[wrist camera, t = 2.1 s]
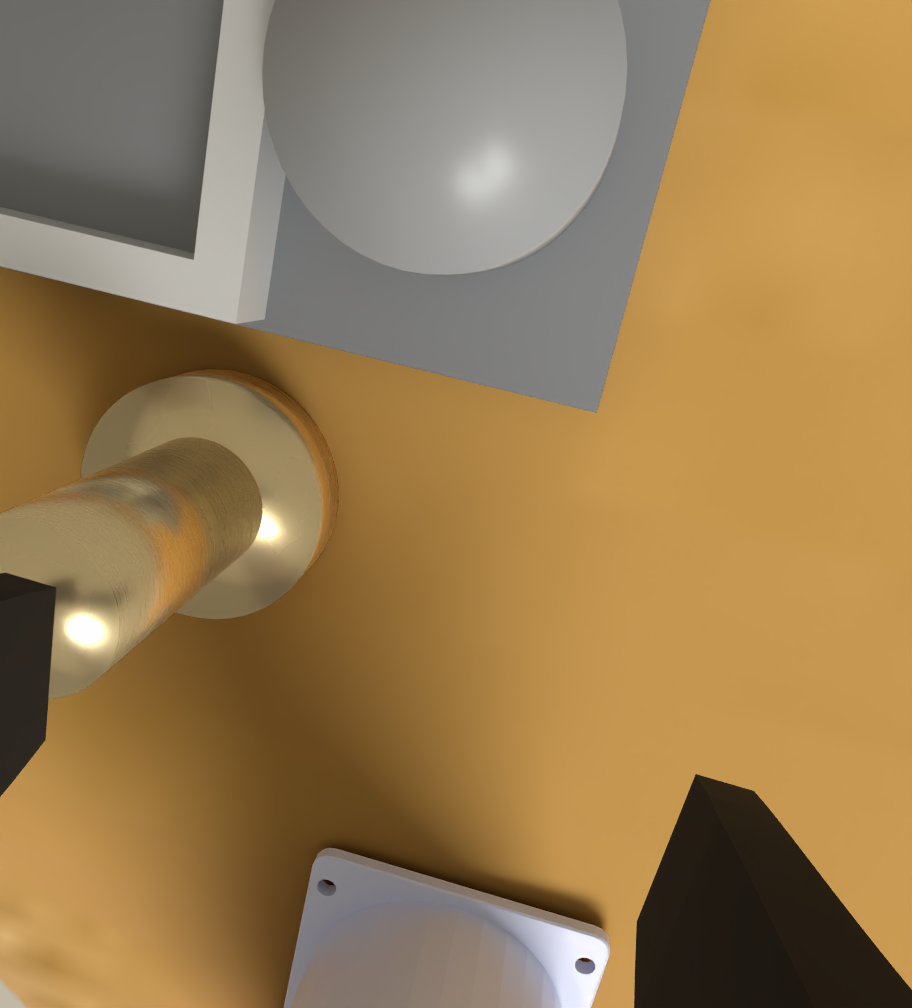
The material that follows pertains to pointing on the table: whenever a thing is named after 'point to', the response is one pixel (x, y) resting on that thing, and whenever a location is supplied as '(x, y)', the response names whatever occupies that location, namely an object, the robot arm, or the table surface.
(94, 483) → the brass flanged shaft
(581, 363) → the carrier
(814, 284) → the table surface
